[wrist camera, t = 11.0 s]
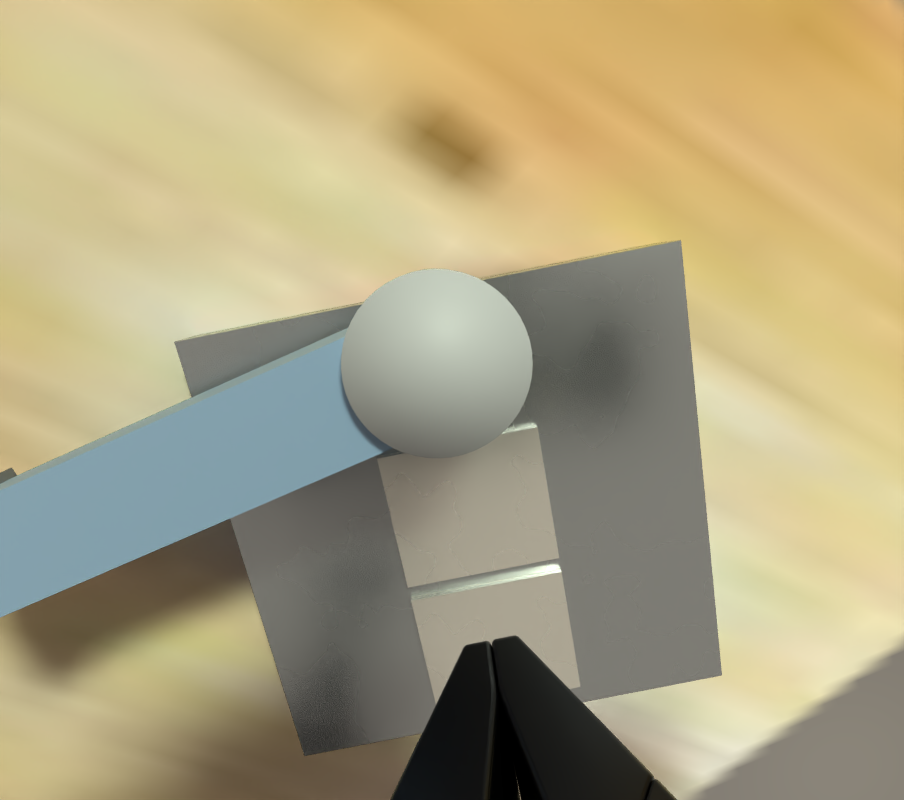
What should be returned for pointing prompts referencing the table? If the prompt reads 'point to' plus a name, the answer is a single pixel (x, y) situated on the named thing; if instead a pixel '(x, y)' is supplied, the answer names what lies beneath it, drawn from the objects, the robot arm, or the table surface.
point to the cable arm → (273, 432)
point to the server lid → (498, 516)
